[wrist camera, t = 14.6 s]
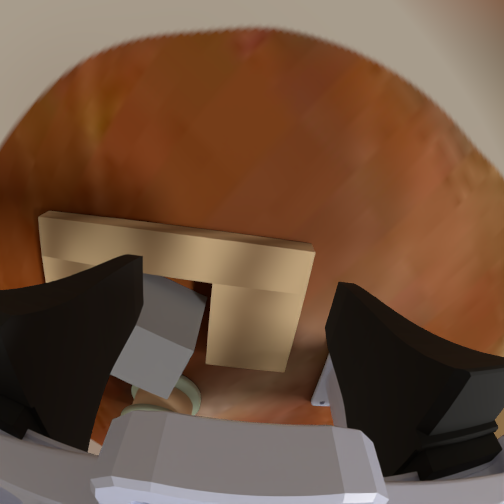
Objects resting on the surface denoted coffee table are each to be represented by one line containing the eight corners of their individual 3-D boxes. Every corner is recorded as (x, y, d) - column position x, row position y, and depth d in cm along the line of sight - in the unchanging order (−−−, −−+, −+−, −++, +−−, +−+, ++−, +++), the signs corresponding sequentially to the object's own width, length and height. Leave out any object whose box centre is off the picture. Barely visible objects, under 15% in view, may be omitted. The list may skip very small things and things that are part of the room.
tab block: (207, 296, 22) (193, 351, 17) (182, 344, 24) (167, 399, 18) (143, 266, 21) (111, 312, 16) (125, 317, 23) (97, 367, 18)
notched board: (311, 243, 21) (315, 252, 19) (282, 359, 24) (284, 372, 23) (49, 210, 20) (38, 216, 18) (63, 322, 23) (55, 332, 22)
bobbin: (202, 375, 25) (194, 420, 20) (200, 418, 28) (193, 459, 23) (130, 362, 25) (112, 403, 20) (137, 406, 27) (124, 445, 23)
